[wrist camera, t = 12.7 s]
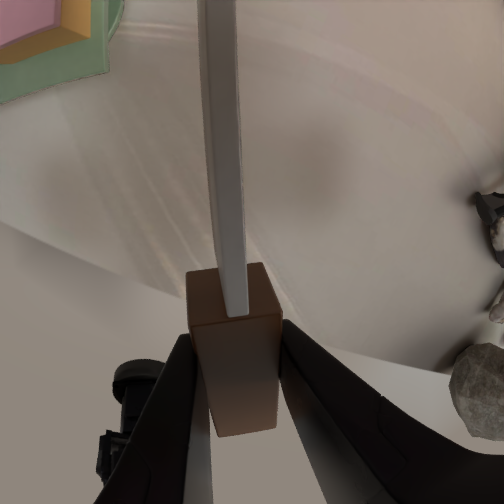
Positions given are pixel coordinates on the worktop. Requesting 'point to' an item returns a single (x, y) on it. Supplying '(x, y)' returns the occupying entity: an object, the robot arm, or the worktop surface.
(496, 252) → the bird model
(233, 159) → the cake knife
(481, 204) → the knife
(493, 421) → the rock
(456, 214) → the worktop surface
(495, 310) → the figurine
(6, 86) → the cake stand
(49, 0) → the cake
